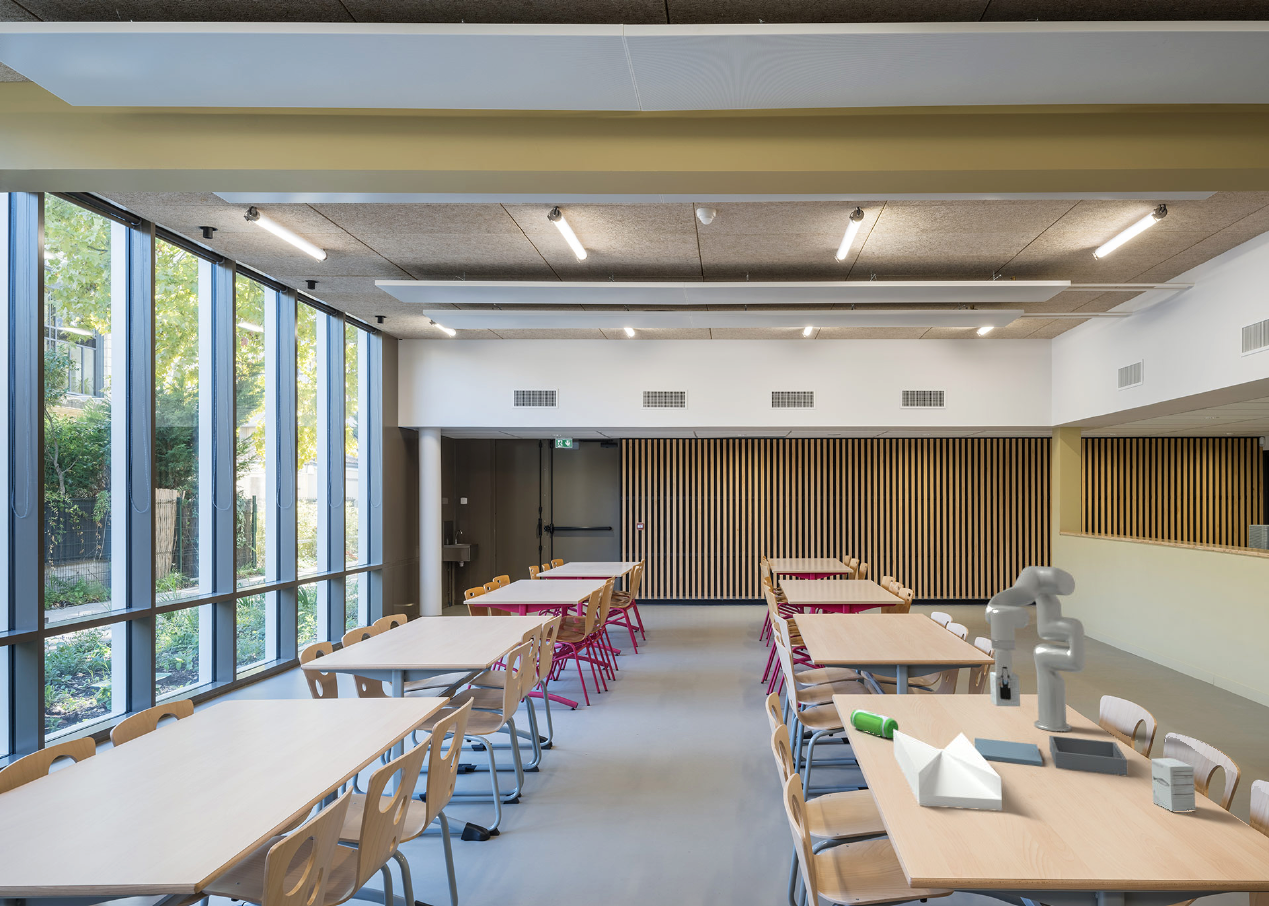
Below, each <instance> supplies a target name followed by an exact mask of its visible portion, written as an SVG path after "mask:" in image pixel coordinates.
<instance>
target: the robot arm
mask: <svg viewBox="0 0 1269 906" xmlns="http://www.w3.org/2000/svg"><path fill="white" fill-rule="evenodd" d="M1075 588H1076V582H1075V579H1074V577H1073V575H1071V573H1069V572H1067V571H1066V570H1063V569H1061V568H1059V567H1056V566H1041V565H1038V566H1037V565H1029V566H1026V567H1024V568H1023V569H1022V570H1021V572H1020V574H1019V576H1018V577H1017V579H1016V581H1015V582H1014V585H1012V587H1011V586H1010V587H1009V588H1007V589H1004V590H1003V591H1000V592H998V593H997V594H995V595H993V596H992V597H991V599H990V600H989V602H988V603H987V605H986V608H985V611H984V619H985V621H986V623H987V624H988V625H990V635H991V636H990V639H991V649H992V650H994V672H995V674H996V678H997V679H998V678H1000V677H1001V687H1000V697H1001V699H1005V700H1011V688H1010V679H1011V678H1012V672H1013V652H1014V651H1015V650H1016V630H1015V629H1024V628H1025V627H1027V626H1028V625H1029V622H1030V619H1031V618H1030V617H1031V616H1030V614H1029V611H1028V610H1027V609H1026V608H1024V606H1029V605H1031V604H1033V603H1034V602H1035V603H1036V604H1035V605H1036V630H1037V635H1038V636H1039V638H1041V639H1042V640H1046V641H1049V642H1050V641H1051V642H1060V643H1066V644H1068V645H1060V644H1055V643H1053V644H1052V643H1040V644H1037V645H1036V646H1035V647H1034V649H1033V660H1034V664H1035V670H1036V683H1037V684H1036V685H1037V687H1036V688H1037V711H1038V712H1037V713H1038V714H1037V715H1038V720H1035V721H1034V722H1033V723H1034V727H1036V728H1037V729H1040V730H1044V731H1048V732H1049V731H1050V732H1057V731H1061V732H1062V731H1064V733H1065V732H1070V731H1072V725H1070V724H1068V722H1067V706H1066V705H1067V702H1066V701H1067V700H1066V682H1065V679H1064V678H1063V675H1062V674H1061V673H1060V672H1059V671H1062V672H1068V673H1075V674H1077V673H1081V672H1083V671H1084V669H1085V665H1086V647H1085V645H1086V643H1085V629H1084V625H1083V623H1082V621H1081V620H1079V619H1077V618H1075V617H1067V616H1066V617H1065V616H1063V615H1062V603H1061V601H1060V599H1059V598H1058V597H1057V596H1062V597H1063V596H1067V597H1068V596H1071V595H1072V594H1073V593H1074V591H1075ZM1002 676H1003V678H1002ZM1009 676H1010V677H1009ZM1007 677H1008V678H1007ZM1009 678H1010V679H1009ZM1002 680H1003V681H1002Z"/></svg>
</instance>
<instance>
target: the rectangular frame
mask: <svg viewBox="0 0 1269 906" xmlns="http://www.w3.org/2000/svg"><path fill="white" fill-rule="evenodd" d="M1048 739H1049V740H1048V741H1049V752H1051V753H1050V755H1051V759H1052V760H1053V763H1054V766H1055V768H1056V769H1062V770H1063V769H1064V770H1071V771H1078V772H1079V771H1081V772H1089V773H1096V772H1097V773H1098V774H1106V775H1114V774H1119V775H1118V776H1122V775H1129V773H1128V759H1127V758H1126V755H1124V753H1123V752H1122V749H1120V747H1119V745H1118V743H1117V742H1116V741H1106V740H1098V739H1097V740H1096V739H1087V738H1077V737H1076V738H1075V737H1069V736H1068V737H1067V736H1057V735H1048Z"/></svg>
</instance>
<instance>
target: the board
mask: <svg viewBox="0 0 1269 906" xmlns="http://www.w3.org/2000/svg"><path fill="white" fill-rule="evenodd" d="M974 747H975V748H976V750H977V751H978V752H979V753H980V754H981V755H982V757H983V758H984V759H987V760H986V761H993V762H1000V761H1002V762H1001V763H1010V764H1018V765H1026V766H1035V765H1037V766H1036V767H1043V761H1042V760H1043V759H1042V757H1041V754H1040V751H1039V748H1038V744H1035V743H1026V742H1025V743H1024V742H1019V741H1018V742H1017V741H1007V740H1006V741H1005V740H997V739H987V738H978V737H974Z"/></svg>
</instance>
